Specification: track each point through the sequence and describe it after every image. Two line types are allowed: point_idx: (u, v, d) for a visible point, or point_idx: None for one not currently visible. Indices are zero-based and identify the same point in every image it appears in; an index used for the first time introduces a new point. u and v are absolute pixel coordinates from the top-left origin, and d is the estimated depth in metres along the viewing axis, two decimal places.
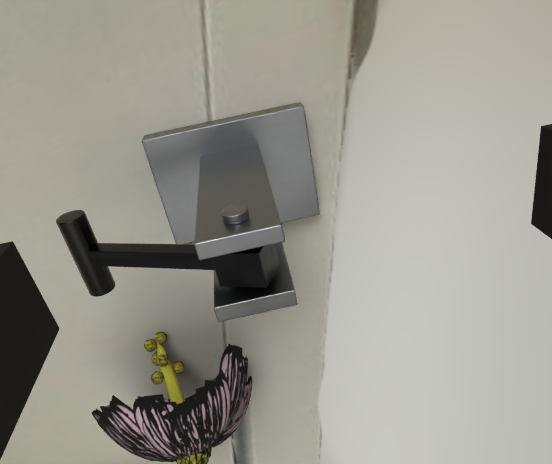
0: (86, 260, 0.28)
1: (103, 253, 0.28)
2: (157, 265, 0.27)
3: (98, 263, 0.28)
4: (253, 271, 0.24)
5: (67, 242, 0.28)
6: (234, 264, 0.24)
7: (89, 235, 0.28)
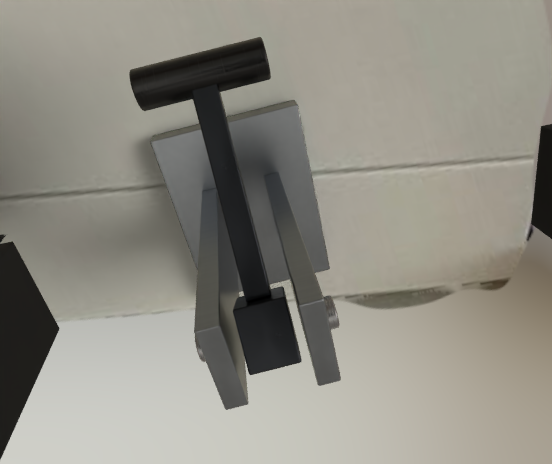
0: (202, 81, 0.18)
1: (220, 114, 0.19)
2: (225, 204, 0.19)
3: (198, 100, 0.19)
4: (272, 357, 0.19)
5: (231, 54, 0.18)
6: (275, 331, 0.18)
7: (239, 86, 0.19)
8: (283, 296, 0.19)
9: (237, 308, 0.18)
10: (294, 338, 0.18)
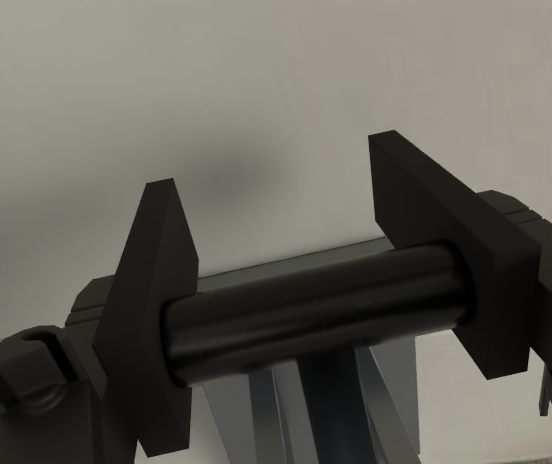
0: (325, 347, 0.08)
1: (360, 412, 0.08)
2: None
3: (312, 381, 0.08)
4: None
5: (396, 293, 0.08)
6: None
7: None
8: None
9: None
10: None
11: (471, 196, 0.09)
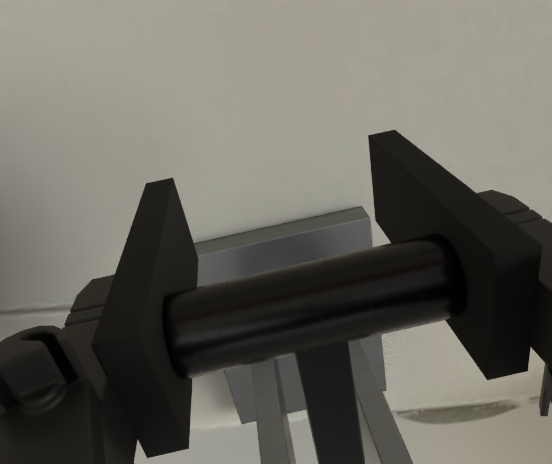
0: (322, 346, 0.09)
1: (347, 384, 0.10)
2: None
3: (308, 366, 0.09)
4: None
5: (394, 306, 0.08)
6: None
7: None
8: None
9: None
10: None
11: (472, 196, 0.09)
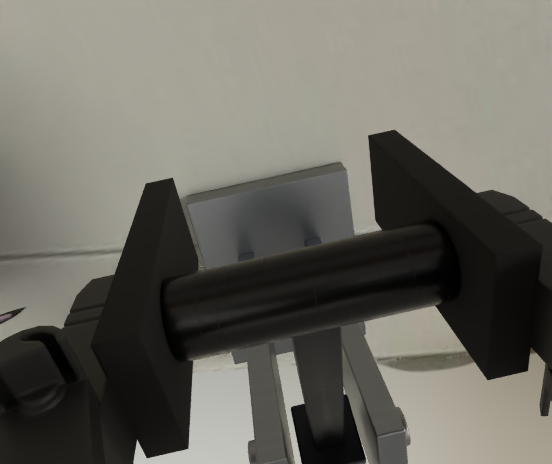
0: None
1: (336, 348, 0.10)
2: (314, 409, 0.13)
3: (301, 340, 0.10)
4: None
5: (390, 303, 0.08)
6: None
7: None
8: (363, 456, 0.16)
9: None
10: None
11: (472, 196, 0.09)
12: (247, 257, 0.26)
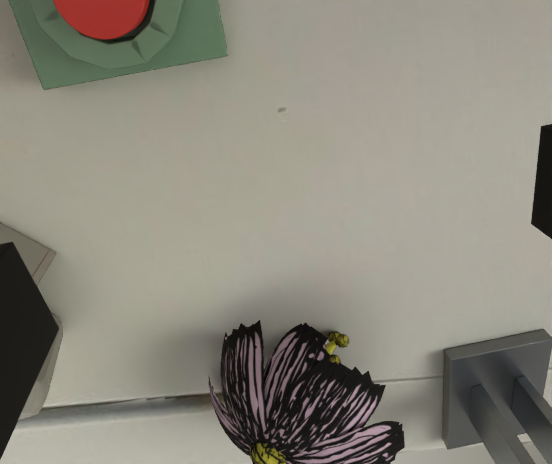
0: None
1: None
2: None
3: None
4: None
5: None
6: None
7: None
8: None
9: None
10: None
11: None
12: (480, 389, 0.40)
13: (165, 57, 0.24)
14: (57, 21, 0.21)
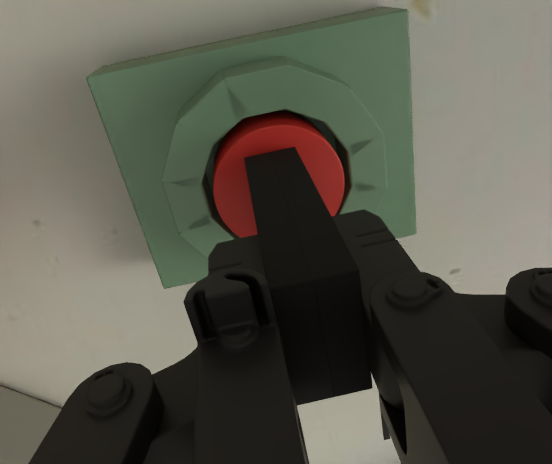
0: None
1: None
2: None
3: None
4: None
5: None
6: None
7: None
8: None
9: None
10: None
11: (325, 218, 0.09)
12: None
13: None
14: (206, 228, 0.15)
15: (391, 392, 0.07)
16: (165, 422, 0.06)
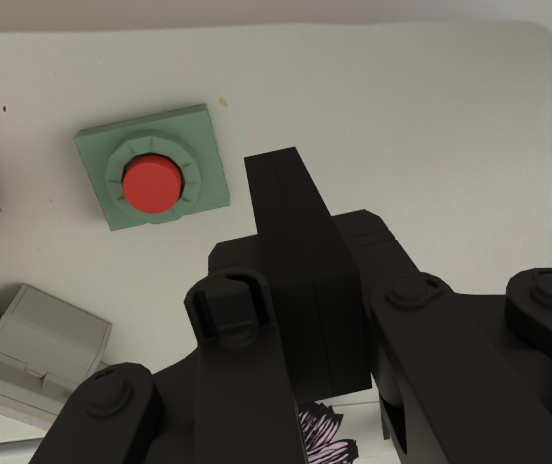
0: None
1: None
2: None
3: None
4: None
5: None
6: None
7: None
8: None
9: None
10: None
11: (325, 218, 0.09)
12: None
13: (189, 208, 0.38)
14: (124, 200, 0.35)
15: (391, 392, 0.07)
16: (165, 422, 0.06)
